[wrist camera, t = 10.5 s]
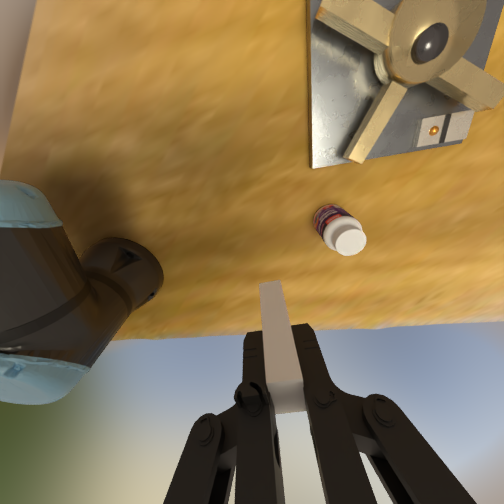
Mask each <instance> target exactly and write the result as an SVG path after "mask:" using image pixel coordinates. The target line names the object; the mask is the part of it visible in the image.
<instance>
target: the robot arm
mask: <svg viewBox="0 0 504 504" xmlns="http://www.w3.org/2000/svg"><path fill="white" fill-rule="evenodd" d="M62 225H63V222H62V220H60V219H58V217H57V216H56V214H55V212H54V210H53V209H52V207H51V205H50V203H49V202H48V200H47V198H46V197H45V195H44V194H43V193H42V192H41V191H40V190H38V189H37V188H35V187H34V186H31V185H29V184H26V183H23V182H18V181H10V180H0V401H4V402H10V403H17V404H31V405H32V404H33V405H38V404H47V403H51V402H54V401H57V400H59V399H61V398H63V397H64V396H65V395H67V394H68V393H69V392H70V391H71V390H72V389H73V388H74V386H75V385H76V384H77V383H78V381H80V379H81V378H82V377H83V376H84V375H85V374H86V373H87V372H89V370H90V368H91V367H92V365H93V364H94V363H95V361H96V360H97V358H98V357H99V356H100V354H101V353H102V352H103V350H104V349H105V347H106V346H107V345H108V343H109V342H110V341H111V339H112V338H113V337H114V335H115V334H116V333H117V331H118V330H119V329H120V327H121V326H122V324H123V323H124V322H125V320H126V319H127V318H128V316H129V315H130V314H131V313H132V312H133V311H135V310H136V309H138V308H139V307H141V306H142V305H144V304H145V303H147V302H148V301H150V300H151V299H152V298H153V297H154V296H155V295H156V294H157V292H158V291H159V289H160V288H161V286H162V283H163V272H162V269H161V266H160V264H159V262H158V261H157V260H156V258H155V257H154V256H153V255H152V254H151V253H150V252H149V251H148V250H147V249H145V248H144V247H142V246H141V245H139V244H137V243H135V242H132V241H129V240H126V239H121V238H107V239H103V240H101V241H99V242H97V243H95V244H94V245H92V246H90V247H89V248H88V249H87V250H86V251H85V252H84V253H83V255H82V256H81V257H80V259H78V257H77V255H76V253H75V251H74V249H73V247H72V245H71V243H70V241H69V239H68V237H67V235H66V233H65V231H64V229H63V227H62ZM259 289H260V303H261V318H262V330H261V331H255V332H248V333H247V334H246V337H245V339H244V343H243V350H244V351H243V378H242V383H241V384H240V385H239V386H238V387H237V389H236V391H235V395H234V400H235V402H236V404H235V405H234V406H233V407H231V408H229V409H228V410H226V411H224V412H222V413H220V414H219V415H217V416H216V415H214V414H212V413H208V414H204V415H203V416H201V417H200V418H199V419H198V420H197V421H196V422H195V423H194V425H193V427H192V429H191V431H190V434H189V436H188V439H187V442H186V444H185V447H184V450H183V452H182V455H181V458H180V460H179V463H178V466H177V468H176V471H175V473H174V476H173V479H172V482H171V484H170V487H169V489H168V492H167V495H166V497H165V500H164V503H163V504H228V501H229V496H230V491H231V486H232V481H233V476H234V471H235V466H236V482H235V504H285V496H284V487H283V477H282V467H281V457H280V448H279V437H278V430H277V426H276V418H275V414H282V413H291V412H300V411H307V414H308V419H309V424H310V432H311V435H312V440H313V444H314V448H315V453H316V458H317V463H318V467H319V473H320V477H321V482H322V487H323V491H324V496H325V501H326V504H377V501H376V499H375V496H374V493H373V490H372V487H371V485H370V482H369V479H368V476H367V473H366V471H365V468H364V465H363V462H362V459H361V457H360V454H359V452H362V453H365V454H366V456H367V458H368V459H369V461H370V463H371V465H372V466H373V468H374V470H375V472H376V474H377V475H378V477H379V479H380V481H381V482H382V484H383V486H384V488H385V490H386V491H387V493H388V495H389V497H390V498H391V500H392V502H393V504H477V503H476V502H475V501H474V500H473V498H472V497H471V496H470V495H469V493H468V492H467V491H466V490H465V488H464V487H463V486H462V485H461V483H460V482H459V481H458V480H457V478H456V477H455V476H454V475H453V473H452V472H451V471H450V470H449V469H448V467H447V466H446V465H445V464H444V462H443V461H442V460H441V459H440V457H439V456H438V455H437V454H436V452H435V451H434V450H433V449H432V447H431V446H430V445H429V444H428V442H427V441H426V440H425V439H424V437H423V436H422V435H421V434H420V433H419V431H418V430H417V429H416V427H415V426H414V425H413V424H412V423H411V421H410V420H409V419H408V418H407V416H406V415H405V414H404V413H403V411H402V410H401V409H400V408H399V407H398V406H397V405H396V404H395V403H394V402H393V401H392V400H391V399H389V398H387V397H386V396H384V395H379V394H371V395H369V396H368V397H366V398H363V397H359V396H355V395H351V394H348V393H345V392H343V391H342V390H340V389H339V388H338V387H337V386H336V385H335V384H334V383H333V382H332V380H331V378H330V376H329V373H328V370H327V367H326V364H325V362H324V358H323V356H322V353H321V350H320V347H319V344H318V341H317V339H316V335H315V333H314V330H313V329H312V328H311V327H310V326H309V324H308V323H305V324H299V325H292V326H291V325H290V321H289V316H288V312H287V308H286V303H285V299H284V295H283V290H282V286H281V281H280V280H277V281H271V282H265V283H259Z"/></svg>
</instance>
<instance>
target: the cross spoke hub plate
mask: <svg viewBox="0 0 504 504" xmlns="http://www.w3.org/2000/svg"><path fill="white" fill-rule="evenodd" d="M321 1H322V0H306V27H307V71H308V116H309V161H310V168H319V167H325V166H331V165H337V164H343V163H349V162H352V161H350V160H348V159H346V158H343V155H344V153H345V152H346V150H347V148H348V146H349V144H350V143H351V141H352V139H353V137H354V135H355V134H356V132H357V130H358V128H359V126H360V125H361V123H362V121H363V119H364V118H365V116H366V114H367V112H368V110H369V109H370V107H371V105H372V103H373V101H374V100H375V98H376V96H377V94H378V92H379V91H380V89H381V87H382V86H383V85H384V84H383V83H382V82H381V81H380V80H379V78H378V76H377V74H376V71H375V67H374V52H373V51H371V50H369V49H367V48H366V47H364V46H362V45H361V44H359V43H357V42H355V41H354V40H352V39H350V38H349V37H347V36H345V35H343V34H342V33H340V32H338V31H337V30H335V29H333V28H332V27H330V26H328V25H326V24H325V23H323V22H321V21H320V20H318V19H316V18H315V17H316V14H317V12H318V9H319V6H320V4H321ZM373 1H374V2H376V3H377V4H379V5H381V6H382V7H384V8H385V9H387V10H389V11H391V10H392V9H393V8H394V7H395V6H396V5H397V4H398V3H399V1H400V0H373ZM503 5H504V0H487V2H486V9H485V13H484V17H483V20H482V23H481V26H480V28H479V31H478V33H477V35H476V37H475V39H474V41H473V42H472V44H471V46H470V47H469V49H468V50H467V51H466V53H465V54H464V55H463V56H462V57H463V58H464V59H466V60H467V61H469V62H471V63H472V64H474V65H475V66H477V67H479V68H480V69H482V70H483V71H484V68H485V64H486V61H487V58H488V55H489V51H490V48H491V45H492V41H493V38H494V35H495V31H496V28H497V25H498V22H499V18H500V15H501V12H502V8H503ZM407 89H408V90H407V91H406V93H405V95H404V96H403V98H402V100H401V101H400V103H399V104H398V106H397V108H396V109H395V111H394V113H393V114H392V116H391V118H390V119H389V121H388V122H387V124H386V126H385V127H384V129H383V131H382V132H381V134H380V136H379V137H378V139H377V140H376V142H375V144H374V145H373V147H372V149H371V150H370V152H369V154H368V155H367V157H366V158H365V160H366V159H372V158H378V157H384V156H390V155H395V154H401V153H407V152H413V151H419V150H425V149H431V148H437V147H442V146H448V145H454V144H460V143H462V140H463V139H466V137H467V134H468V131H469V127H470V124H471V121H472V118H473V114H474V111H473V110H472V109H470V108H468V107H466V106H465V105H463V104H461V103H460V102H458V101H456V100H455V99H453V98H451V97H449V96H448V95H446V94H444V93H443V92H441V91H439V90H437V89H436V88H434V87H432V86H431V85H429V84H427V83H425V82H423V83H420V84H418V85H415V86H412V87H410V88H407Z"/></svg>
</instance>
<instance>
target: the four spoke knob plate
mask: <svg viewBox="0 0 504 504" xmlns="http://www.w3.org/2000/svg"><path fill="white" fill-rule="evenodd" d="M486 2H487V0H400V1H399V3H398V4H397V5H396V6H395V7H394V8H393V9H392V10H391V11H389V10H387V9H385V8H384V7H382V6H381V5H379V4H377V3H376V2H374V1H373V0H322V1H321V4H320V6H319V9H318V12H317V14H316V17H315V18H316V19H318V20H320V21H321V22H323V23H325V24H326V25H328V26H330V27H332V28H333V29H335V30H337V31H338V32H340V33H342V34H343V35H345V36H347V37H349V38H350V39H352V40H354V41H355V42H357V43H359V44H361V45H362V46H364V47H366V48H367V49H369V50H371V51H373V52H374V67H375V71H376V74H377V76H378V78H379V80H380V81H381V82H382V83H383V84H384V85H383V86H382V87H381V89H380V91H379V92H378V94H377V96H376V98H375V100H374V101H373V103H372V105H371V107H370V109H369V110H368V112H367V114H366V116H365V118H364V119H363V121H362V123H361V125H360V126H359V128H358V130H357V132H356V134H355V135H354V137H353V139H352V141H351V143H350V144H349V146H348V148H347V150H346V152H345V153H344V155H343V158H346V159H348V160H350V161H352V162H354V163H358V164H362V163H363V162H364V160H365V158H366V157H367V155H368V154H369V152H370V150H371V149H372V147H373V145H374V144H375V142H376V140H377V139H378V137H379V136H380V134H381V132H382V131H383V129H384V127H385V126H386V124H387V122H388V121H389V119H390V118H391V116H392V114H393V113H394V111H395V109H396V108H397V106H398V104H399V103H400V101H401V100H402V98H403V96H404V95H405V93H406V91H407V90H408V89H407V88H410V87H412V86H415V85H418V84H420V83H423V82H425V83H427V84H429V85H431V86H432V87H434V88H436V89H437V90H439V91H441V92H443V93H444V94H446V95H448V96H449V97H451V98H453V99H455V100H456V101H458V102H460V103H461V104H463V105H465V106H466V107H468V108H470V109H472V110H473V111H475V112H478V111H484V110H491V109H494V107H495V106H496V105H497V104H498V103H499V101H500V100H501V99H502V98H503V96H504V83H502V82H501V81H499V80H498V79H496V78H494V77H493V76H491V75H490V74H488V73H486V72H485V71H483V70H482V69H480V68H479V67H477V66H475V65H474V64H472V63H471V62H469V61H467V60H466V59H464V58H463V57H462V56H463V55H464V54H465V53H466V51H467V50H468V49H469V47H470V46H471V44H472V42H473V41H474V39H475V37H476V35H477V33H478V31H479V28H480V26H481V23H482V20H483V17H484V13H485V9H486Z"/></svg>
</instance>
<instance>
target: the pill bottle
mask: <svg viewBox="0 0 504 504" xmlns="http://www.w3.org/2000/svg"><path fill="white" fill-rule="evenodd" d="M313 223H314V227H315V229H316V230H317V232H318V233H319V235H320V236H321V238H322V239H323V241H324V242H325V244H326V245H327V246H328V247H329V248H330V249H332V250H335V251H338V253H340V254H342V255H345V256H350V255H354V254H357V253H358V252H360V251H361V250H362V249H363V248H364V246H365V244H366V236H365V234H364V232H362V226H361V224H360V223H359V222H358V221H357V220H356V219H355V218H354V217H353V216H351V215H350V214H349V213H347V212H346V211H345V210H344V209H342V208H341V207H339V206H337V205H333V204H330V205H326V206H323V207H322V208H320V209H319V210H318V211H317V212H316V214H315V216H314V220H313Z"/></svg>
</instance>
